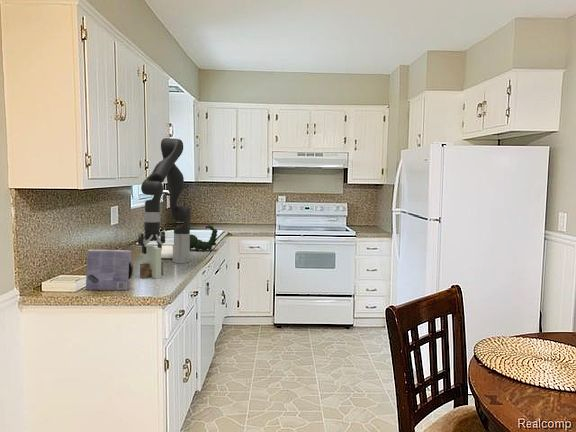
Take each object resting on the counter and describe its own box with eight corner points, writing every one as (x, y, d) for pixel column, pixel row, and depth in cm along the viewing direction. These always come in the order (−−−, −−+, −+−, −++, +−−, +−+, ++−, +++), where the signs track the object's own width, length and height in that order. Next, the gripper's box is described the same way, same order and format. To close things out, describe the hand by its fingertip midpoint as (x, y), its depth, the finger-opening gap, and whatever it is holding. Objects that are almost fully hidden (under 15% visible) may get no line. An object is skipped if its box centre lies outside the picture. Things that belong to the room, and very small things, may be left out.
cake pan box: (133, 287, 208) (133, 249, 206) (131, 290, 203) (131, 251, 201) (88, 287, 205) (88, 249, 203) (85, 290, 200) (85, 250, 198)
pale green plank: (142, 275, 234) (143, 246, 232) (147, 274, 236) (148, 245, 235) (156, 278, 227) (156, 248, 225) (161, 277, 229) (161, 248, 228)
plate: (198, 249, 293) (166, 254, 271) (197, 258, 294) (165, 265, 272) (168, 240, 308) (135, 244, 286) (168, 249, 309) (135, 254, 287)
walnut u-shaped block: (142, 278, 226) (142, 264, 225) (140, 277, 227) (140, 264, 227) (163, 275, 235) (163, 261, 235) (160, 274, 237) (160, 261, 236)
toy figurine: (215, 252, 319) (179, 248, 317) (218, 225, 318) (182, 221, 315) (214, 254, 310) (177, 250, 308) (217, 227, 308) (180, 222, 306)
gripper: (159, 219, 237) (159, 250, 238) (135, 221, 226) (135, 253, 227) (168, 220, 232) (168, 252, 233) (144, 222, 221) (143, 255, 222)
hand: (151, 252), depth 230 cm, fingers open, 8 cm apart
